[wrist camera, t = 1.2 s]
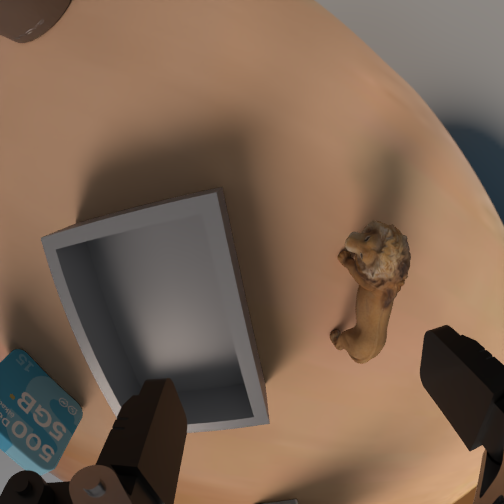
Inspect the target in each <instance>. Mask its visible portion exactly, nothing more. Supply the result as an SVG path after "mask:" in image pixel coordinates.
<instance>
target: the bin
mask: <svg viewBox="0 0 504 504" xmlns="http://www.w3.org/2000/svg"><path fill="white" fill-rule="evenodd" d="M41 241H42V244H43V248H44V251H45V255H46V258H47V261H48V265H49V268H50V271H51V274H52V277H53V280H54V283H55V286H56V289H57V292H58V294H59V297H60V300H61V302H62V305H63V308H64V310H65V313H66V315H67V318H68V320H69V323H70V325H71V328H72V330H73V332H74V335H75V337H76V339H77V342H78V344H79V346H80V348H81V351H82V353H83V355H84V357H85V359H86V361H87V363H88V365H89V368H90V370H91V372H92V374H93V376H94V378H95V379H96V381H97V383H98V385H99V387H100V389H101V391H102V393H103V395H104V396H105V398H106V400H107V402H108V404H109V405H110V407H111V409H112V411H113V412H114V414H115V416H116V418H117V416H118V414H119V411H120V409H121V407H122V405H123V404H124V403H125V402H126V401H127V400H128V399H130V398H131V397H132V396H133V395H139V393H140V391H141V389H142V386H143V384H144V382H145V380H147V379H161V378H170V379H171V380H172V381H173V384H174V386H175V389H176V391H177V394H178V396H179V399H180V402H181V404H182V407H183V409H184V412H185V414H186V418H187V433H192V432H205V431H216V430H226V429H235V428H243V427H250V426H257V425H264V424H270V423H269V414H268V404H267V395H266V386H265V381H264V376H263V372H262V368H261V363H260V359H259V354H258V350H257V346H256V341H255V337H254V332H253V328H252V323H251V319H250V314H249V310H248V305H247V301H246V296H245V291H244V287H243V282H242V278H241V273H240V268H239V264H238V259H237V254H236V250H235V245H234V240H233V236H232V231H231V226H230V221H229V217H228V212H227V207H226V202H225V197H224V193H223V188H222V187H220V188H215V189H210V190H206V191H201V192H196V193H192V194H188V195H183V196H179V197H175V198H170V199H166V200H162V201H158V202H154V203H150V204H146V205H142V206H138V207H134V208H130V209H126V210H123V211H119V212H115V213H111V214H108V215H104V216H101V217H97V218H93V219H90V220H86V221H83V222H80V223H76V224H73V225H71V226H68V227H66V228H63V229H61V230H58V231H56V232H54V233H51V234H49V235H46V236H44V237H42V238H41Z"/></svg>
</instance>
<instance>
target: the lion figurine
mask: <svg viewBox="0 0 504 504" xmlns="http://www.w3.org/2000/svg"><path fill="white" fill-rule="evenodd" d="M345 246H346V249H347V250H348V251H350V252H353V253H355V260H354V259H353V258H352V257H351V254H350V252H348V251H345V250H344V251H343V252H341V253H340V254H339V256H338V260H339V261H340V262H341V264H342V265H343V266H344V267H346V268H347V269H348V270H349V272H350V274H351V275H352V276H353V278H354V279H355V281H356V282H357V283H358V284H359V288H358V292H357V300H356V319H357V323H356V326H355V327H353V328H351V329H348V330H346V331H344V332H342V333H341V332H340V331H338V330H335V331H332V332H331V333H330V339H331V341H332V343H333V344H334V345H335V347H336V349H338V350H342V349H345V350H346V351H347V352H348V353H349V355H350V357H351V358H352V359H353V360H354V361H355V362H357V363H360V364H363V363H366V362H368V361H369V360H370V359H372V358H374V357H376V356H377V355H378V354H379V353H380V351H381V350H382V348H383V347H384V345H385V342H386V337H387V326H388V322H389V318H390V314H391V310H392V306H393V301H394V298H395V297H396V295H397V293H398V292H399V291H400V290H401V286H403V285H404V281H405V279H406V278H407V277H408V276H407V275H408V270H409V267H410V258H411V256H410V252H409V246H408V242H407V236H406V235H402V234H401V232H400V231H399V230H398V229H397V228H396V227H394V225H393V224H392V225H387V224H384V223H381V222H379V221H372V222H371V223H369V224H368V226H366V227H365V228H364V230H363V232H362V233H358V232H352V233H351V234H350V235H349V237H348V238H347V239H346V242H345Z"/></svg>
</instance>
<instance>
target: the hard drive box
mask: <svg viewBox="0 0 504 504" xmlns="http://www.w3.org/2000/svg"><path fill="white" fill-rule="evenodd" d="M263 504H298V501H297V499H292V500H286V501H279V502H271V503H263Z"/></svg>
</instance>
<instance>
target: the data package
mask: <svg viewBox="0 0 504 504" xmlns="http://www.w3.org/2000/svg"><path fill="white" fill-rule="evenodd" d="M82 416H83V412H82V409H81V407H80V405H79V404H78V403H77V402H76V401H75V400H74V399H73V398H72V397H71V396H70V395H68V394H67V393H66V392H65V391H64V390H63V389H62V388H61V387H60V386H59V385H58V384H57V383H56V382H55V381H54V380H53V379H51V378H50V377H49V376H48V375H47V374H46V373H45V372H44V371H43V370H42V369H41V367H40V366H39V365H38V364H37V363H36V362H35V361H34V360H33V359H32V358H31V357H30V356H29V355H28V354H27V353H26V352H25V351H23V350H21V349H15V350H13V351H12V352H11V353H10V354H9V355H8V356H7V357H6V358H5V359H4V360H3V361H1V362H0V449H1V450H2V451H3V452H5V453H6V454H7V455H8V456H9V457H10V458H11V459H12V460H14V461H15V462H16V463H17V464H19V465H20V466H21V467H22V468H23V469H25V470H30V471H34V472H36V473H38V474H39V475H40V476H41V475H43V474H45V473H47V472H49V471H51V470H53V469H55V468H56V466H57V464H58V462H59V460H60V458H61V456H62V454H63V452H64V451H65V449H66V447H67V445H68V443H69V441H70V439H71V437H72V435H73V433H74V432H75V430H76V428H77V426H78V424H79V422H80V420H81V419H82Z"/></svg>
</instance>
